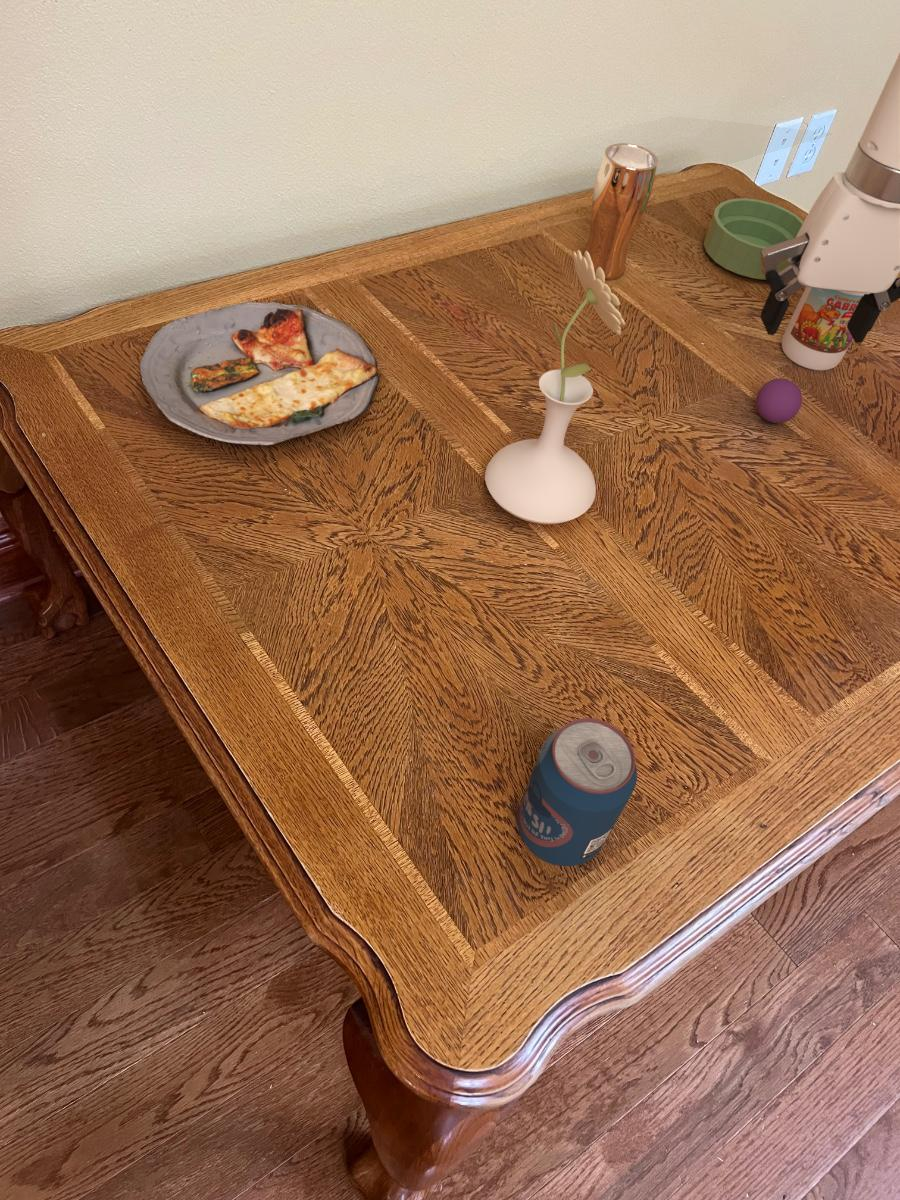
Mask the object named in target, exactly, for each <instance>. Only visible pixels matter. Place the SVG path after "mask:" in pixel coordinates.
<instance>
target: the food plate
mask: <svg viewBox="0 0 900 1200" xmlns="http://www.w3.org/2000/svg"><path fill="white" fill-rule="evenodd" d="M139 364H140V367H139V368H140V369H139V370H140V376H141V379H142V381H141V382H142V384H143V385H144V388H145V389H146V391H147V393H148V395H149V396H150V397H151V399H152V400H153V401H154V404H156V406H157V407H158V409H159V410H160V411H161V413H162V414H164V416H165V417H166V418H167V419H168V421H170V422H171V423H173V424H175V425H177V426H179V427H180V428H182V429H186V430H188V431H189V432H192V433H195V434H197V435H198V436H203V437H205V438H207V439H209V438H210V439H213V440H215V441H220V442H225V443H231V444H237V445H251V446H256V445H257V446H258V445H259V446H260V445H261V446H273V445H275V444H278V443H281V442H282V443H283V442H285V441H288V440H291V439H294V438H299V437H301V436H302V437H305V436H306V435H310V434H313V433H316V432H319V431H321V430H324V429H325V430H326V429H327V428H331V427H334V426H336V425H339V424H342V423H345V422H346V423H348V422H349V421H352V420H354V419H355V418H357V417H358V416H360V415H362V414H364V412H365V411H366V410H367V409H368V408H369V406H370V405H371V402H372V400H373V398H374V394H375V392H376V390H377V388H378V385H379V383H380V380H381V379H380V376H379V372H378V362H377V358H376V356H375V355H374V354H373V351H372V350H371V348H370V347H369V345H368V344H367V342H366V341H365V339H364V338H363V337H362V335H361V334H360V333H358V332H357V331H356V330H355V329H354V328H352V327H351V326H350V325H349V324H347V323H346V322H343V321H342V320H340V319H338V318H335V317H333V316H330V315H328V314H326V313H324V312H322V311H319V310H316V309H315V308H313V307H309V306H306V305H302V304H301V305H300V304H291V303H290V304H289V303H288V304H284V303H280V302H277V301H270V302H257V301H243V302H239V303H236V304H230V305H228V306H227V305H225V306H222V307H218V308H213V309H208V310H207V311H203V312H198V313H194V314H191V315H187V316H183V317H180V318H176V319H174V320H172V321H171V322H169V323H167V324H166V325H165V326H162V327H161V328H160V329H159V330H158V331H157V332H156V333H155V334H154V335H153V336H152V337H151V339H150V341H149V343H148V344H147V345H146V347H145V350H144V353H143V355H142V357H141V361H140V362H139Z"/></svg>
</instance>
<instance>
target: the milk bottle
mask: <svg viewBox="0 0 900 1200" xmlns="http://www.w3.org/2000/svg"><path fill="white" fill-rule="evenodd" d="M864 294H870V293H860V292H850V291H839V290H829V289H820V288H812V287H807V286H805V287H804V291H803V293H802V295H801V297H800V299H799V300H798V303H797V305H796V308H795V310H794V312H793V314H792V316H791V319H790V321H789V323H788V325H787V327H786V329H785V332H784V333H783V336H782V339H781V350H782V351H783V353H784V354H785V356H786V357H787V358H788V359H789V360H790V361H792V362H793V363H795V364H797V365H799V366H800V367H803V368H805V369H809V370H813V371H828V370H833V368H835V367H837V366H839V364H840V363H841V362H842V360H843V359H844V357H845V355H846V353H847V351H848V349H849V347H850V346H851V344H852V341H854V340H853V338H852V336H851V334H850V332H849V330H848V328H847V324H848V322H849V320H850V318H851V316H852V315H853V313H854V311H855V309H856V307H857V305H858V303H859V301H860V299H861V298H862V297H863V296H864Z"/></svg>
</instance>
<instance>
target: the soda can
mask: <svg viewBox="0 0 900 1200" xmlns="http://www.w3.org/2000/svg"><path fill="white" fill-rule="evenodd" d="M637 781H638V769H637V764H636V756H635V751H634V748H633V745H632V744H631V742H630V740H629V738H628V737H627V736H626V735H625V734H624V733H623V731H621V730H620V729H619V728H617V727H616V726H615V725H614V724H611V723H609V722H607V721H604V720H602V719H599V718H592V717H584V718H583V717H582V718H577V719H573V720H571V721H569V722H567V723H565V724H564V725H563V726H562V727H559V728H558V729H556V730H555V731H553V732H552V733H551V734H549V735H548V737H547V738H546V739H545V740H544V742H543V744H542V746H541V748H540V751H539V753H538V756H537V758H536V761H535V764H534V767H533V769H532V772H531V774H530V777H529V780H528V783H527V785H526V787H525V790H524V793H523V795H522V798H521V801H520V803H519V806H518V809H517V814H516V822H517V829H518V832H519V835H520V837H521V839H522V841H523V843H524V845H525V846H526V847H527V849H528V850H529V851H530V852H531V853H532V854H533V855H535V856H536V857H537V858H539V859H540V860H542V861H543V862H545V863H547V864H551V865H554V866H559V867H576V866H580V865H583V864H585V863H587V862H589V861H590V860H592V859H593V858H594V857H596V855H598V853H599V852H600V851H601V849H602V848H603V846H604V844H605V843H606V841H607V839H608V837H609V835H610V834H611V831H612V830H613V828H614V827H615V825H616V823H617V821H618V820H619V817H620V816H621V815H622V813H623V810H624V809H625V807H626V805H627V803H628V802H629V800H630V798H631V796H632V795H633V793H634V790H635V789H636V785H637Z"/></svg>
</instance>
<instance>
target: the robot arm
mask: <svg viewBox="0 0 900 1200" xmlns="http://www.w3.org/2000/svg"><path fill="white" fill-rule="evenodd" d="M785 259H788V262H789V263H790V264H791V265H789V266H788V267H786V268H785V269H784V270H782V271H781V272H779V273H778V272H777V265H778V263H779V262H780V261H782V260H785ZM761 260H762V267H763V269H762V272H763V274H764V276H765V279H766V280H765V281H766V283H767V284H768V286H769V289H770V291H769V293H768V295H767V298H766V300H765V302H764V305H763V307H762V310H761V312H760V320H761V322H762V323H763V326H764V328H765V331H766V333H767V335H769V336H774V335H776V334H777V333H778V331H779V327H780V326H781V325H782V321H783V319H784V318H785V315H786V313H787V311H788V309H789V306H790V302H789V301H790V300H789V297H791V296H792V295H794V294H795V293H797V292H799V291H800V290H801V289H803V288H806V286H807V287H812V288H820V289H829V290H839V291H850V292H860V293H870V294H864V296H863V297H862V298H861V299H860V301H859V303H858V305H857V307H856V309H855V311H854V313H853V315H852V316H851V318H850V320H849V322H848V324H847V328H848V330H849V332H850V334H851V336H852V338H853V340H852V341H854V342H855V343H857V344H862V343H863V342H864V340H865V338H866V337H867V335H868V333H869V332H871V331H872V329H873V327H874V325H875V323H876V321H877V320H878V318H879V316H880V314H881V312H885V311H887V310H889V309H890V307H891V305H892V304H893V303H894V302H896V301H899V300H900V276H899V275H900V52H899V54H898V56H897V57H896V60H895V62H894V64H893V67H892V69H891V70H890V73H889V75H888V77H887V79H886V81H885V84H884V86H883V88H882V90H881V92H880V95H879V97H878V99H877V101H876V103H875V105H874V107H873V110H872V112H871V115H870V116H869V118H868V120H867V123H866V125H865V127H864V130H863V132H862V134H861V136H860V138H859V141H858V143H857V145H856V147H855V149H854V151H853V154H852V156H851V158H850V160H849V162H848V165H847V167H846V168H845V171H844V172H835V173H834V175H832V177H831V178H830V180H829V181H828V183H826V185H825V187H823V190H821V192H820V194H819V196H818V197H817V198H816V200H815V201H814V203H813V204H812V207H811V208H810V210H809V211H808V214H807V215H806V217H805V219H804V221H803V224H802V226H801V228H800V230H799V232H798V234H797V236H796V238H794V239H790V240H787V241H784V242H781V243H778V244H775V245H772V246H769V247H766V248H764V249H763V250H762V251H761ZM898 276H899V277H898Z"/></svg>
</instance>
